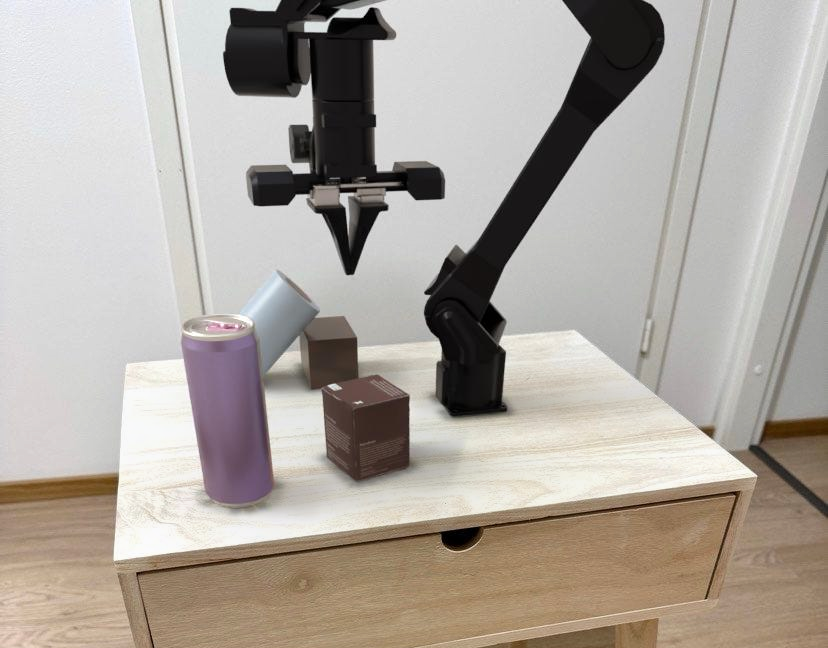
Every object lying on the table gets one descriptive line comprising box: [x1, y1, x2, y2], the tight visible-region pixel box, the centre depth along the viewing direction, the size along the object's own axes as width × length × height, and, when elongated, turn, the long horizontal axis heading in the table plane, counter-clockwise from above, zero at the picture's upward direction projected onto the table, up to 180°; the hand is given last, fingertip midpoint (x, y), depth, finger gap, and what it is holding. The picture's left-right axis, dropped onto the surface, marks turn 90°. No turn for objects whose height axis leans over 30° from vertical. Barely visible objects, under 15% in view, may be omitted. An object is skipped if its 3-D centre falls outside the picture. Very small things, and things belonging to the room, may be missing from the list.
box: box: [321, 373, 411, 482], centre depth 70 cm, size 6×6×7 cm
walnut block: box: [298, 315, 359, 390], centre depth 88 cm, size 6×8×6 cm
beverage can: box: [180, 313, 275, 509], centre depth 62 cm, size 6×6×15 cm
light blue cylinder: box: [237, 269, 321, 377], centre depth 85 cm, size 12×6×12 cm, turn 105°
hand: (349, 274), depth 78 cm, fingers closed
